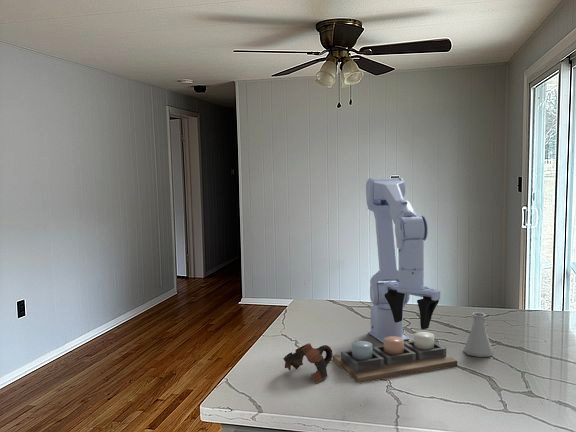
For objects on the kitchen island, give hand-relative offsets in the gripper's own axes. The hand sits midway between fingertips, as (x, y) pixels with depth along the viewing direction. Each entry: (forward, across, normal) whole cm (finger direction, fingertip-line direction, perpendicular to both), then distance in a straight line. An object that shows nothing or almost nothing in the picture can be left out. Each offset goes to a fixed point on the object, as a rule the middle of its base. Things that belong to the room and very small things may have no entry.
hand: (411, 324), depth 123 cm
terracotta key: (+7, -4, -1) cm, 9 cm away
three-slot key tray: (+10, -4, -1) cm, 11 cm away
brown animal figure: (+10, -13, -20) cm, 26 cm away
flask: (+10, +6, +20) cm, 23 cm away
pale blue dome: (+7, -7, -9) cm, 14 cm away
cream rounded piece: (+7, -1, +7) cm, 10 cm away
